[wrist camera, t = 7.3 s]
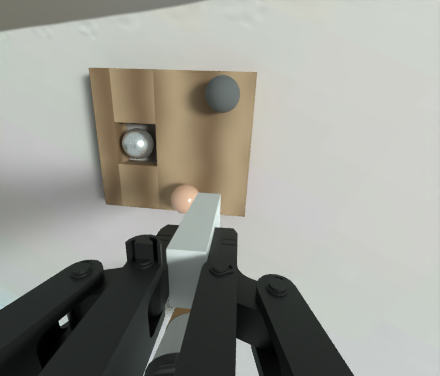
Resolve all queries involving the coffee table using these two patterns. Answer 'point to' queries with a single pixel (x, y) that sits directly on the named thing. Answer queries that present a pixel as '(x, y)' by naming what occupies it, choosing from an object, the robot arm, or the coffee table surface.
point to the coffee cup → (169, 345)
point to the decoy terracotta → (183, 197)
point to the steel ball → (137, 143)
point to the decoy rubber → (222, 93)
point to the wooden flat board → (173, 136)
